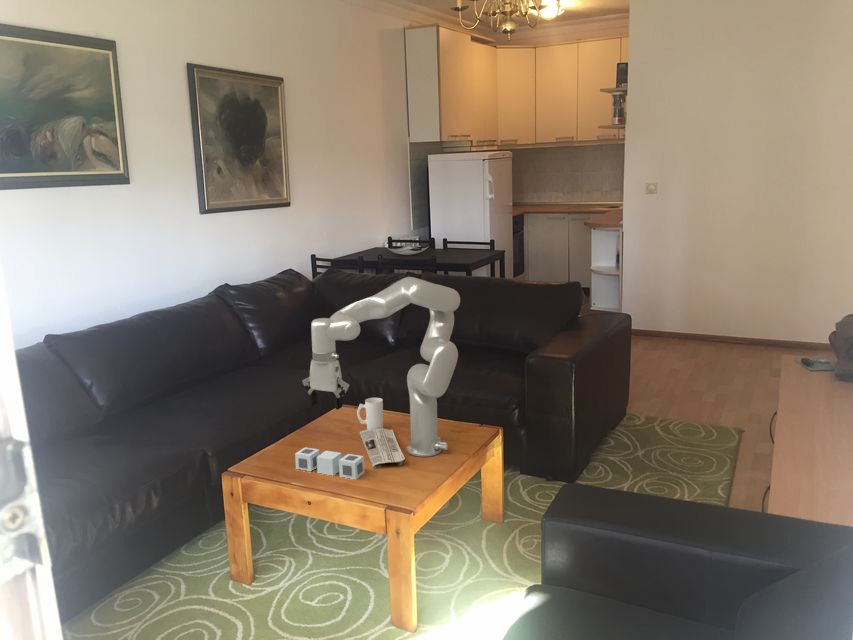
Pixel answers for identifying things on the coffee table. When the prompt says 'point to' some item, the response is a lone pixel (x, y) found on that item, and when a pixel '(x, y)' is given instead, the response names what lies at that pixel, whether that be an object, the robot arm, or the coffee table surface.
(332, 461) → the plain block
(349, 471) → the marked block near
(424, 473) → the coffee table surface
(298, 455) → the marked block far
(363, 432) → the newspaper
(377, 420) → the mug
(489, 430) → the coffee table surface
